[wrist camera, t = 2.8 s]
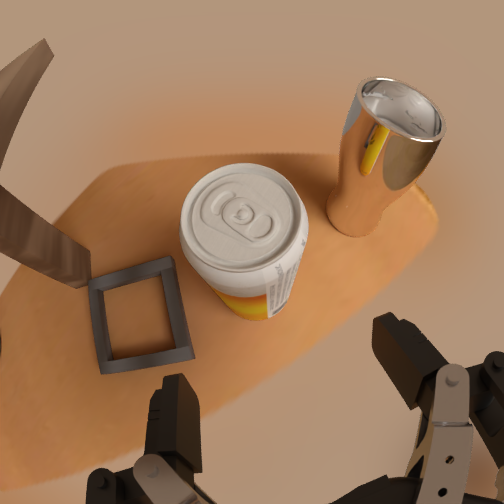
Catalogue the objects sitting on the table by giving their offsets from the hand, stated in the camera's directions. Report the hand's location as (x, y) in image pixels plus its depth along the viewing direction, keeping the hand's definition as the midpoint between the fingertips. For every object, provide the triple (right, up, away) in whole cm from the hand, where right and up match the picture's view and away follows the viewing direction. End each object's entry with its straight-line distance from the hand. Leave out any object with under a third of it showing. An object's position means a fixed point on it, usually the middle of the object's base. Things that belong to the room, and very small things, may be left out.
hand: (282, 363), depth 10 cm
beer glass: (+9, +9, +18) cm, 22 cm away
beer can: (-1, +1, +16) cm, 16 cm away
